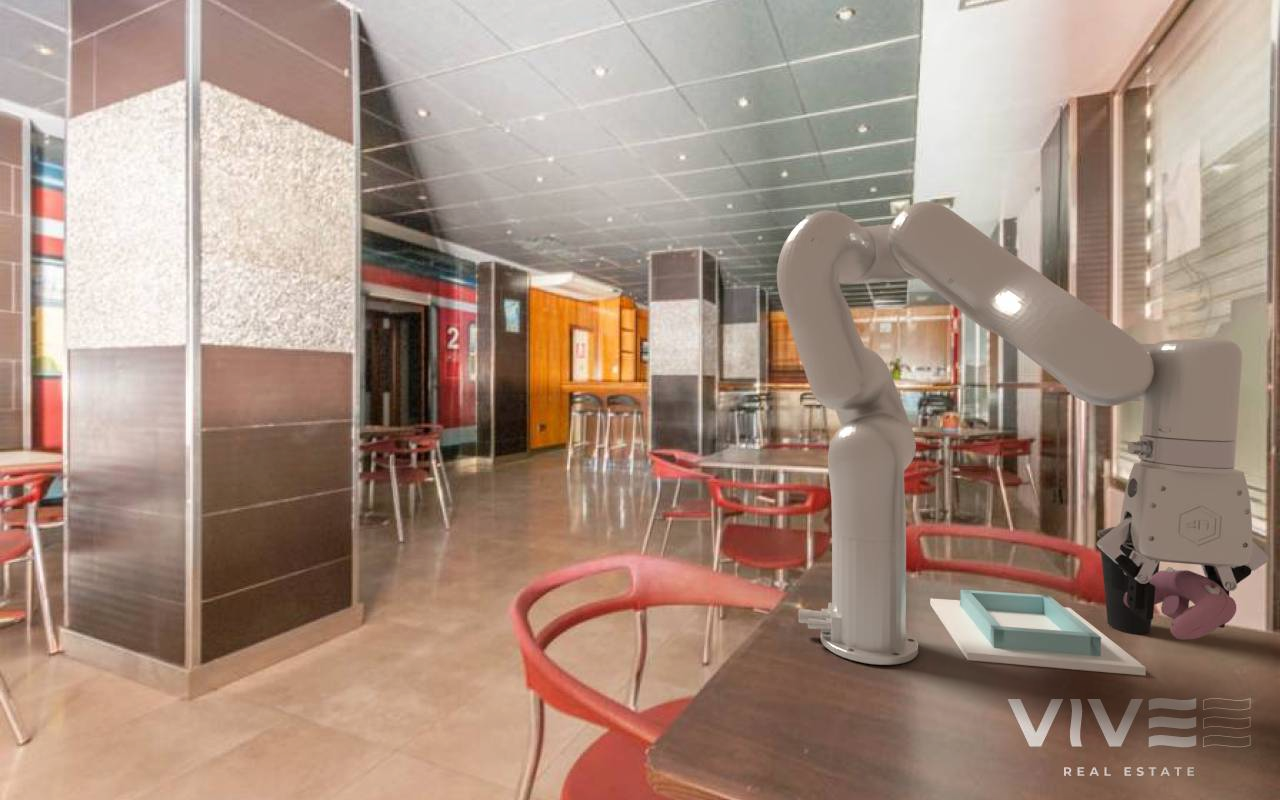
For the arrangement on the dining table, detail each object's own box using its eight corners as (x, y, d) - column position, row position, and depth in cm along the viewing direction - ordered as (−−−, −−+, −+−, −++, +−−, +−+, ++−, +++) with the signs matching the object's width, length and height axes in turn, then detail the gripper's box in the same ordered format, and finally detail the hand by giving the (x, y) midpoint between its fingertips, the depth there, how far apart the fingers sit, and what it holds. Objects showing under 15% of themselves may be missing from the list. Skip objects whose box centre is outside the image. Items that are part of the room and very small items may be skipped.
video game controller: (1216, 660, 61) (1257, 601, 60) (1171, 635, 61) (1211, 578, 61) (1154, 620, 70) (1189, 570, 69) (1116, 600, 71) (1149, 549, 70)
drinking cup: (1173, 642, 83) (1176, 498, 83) (1107, 634, 86) (1109, 495, 86) (1149, 621, 91) (1151, 489, 90) (1088, 614, 93) (1090, 486, 93)
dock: (967, 660, 79) (967, 633, 79) (930, 604, 98) (930, 583, 98) (1145, 675, 74) (1146, 647, 74) (1069, 614, 94) (1069, 591, 94)
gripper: (1112, 455, 63) (1102, 624, 64) (1314, 464, 59) (1300, 643, 60) (1078, 446, 70) (1069, 598, 71) (1255, 454, 67) (1244, 614, 67)
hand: (1175, 617), depth 66 cm, fingers closed on video game controller, 5 cm apart
